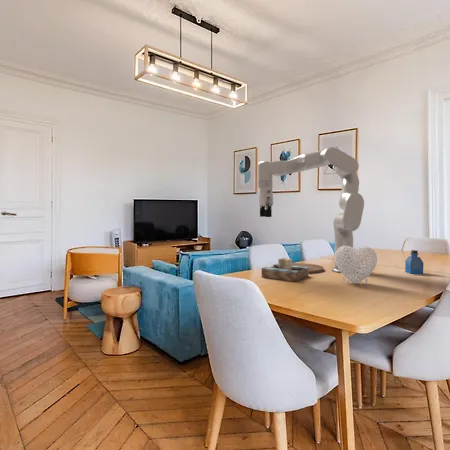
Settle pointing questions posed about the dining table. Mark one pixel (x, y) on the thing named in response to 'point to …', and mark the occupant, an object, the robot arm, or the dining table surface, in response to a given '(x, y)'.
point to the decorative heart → (355, 263)
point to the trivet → (310, 267)
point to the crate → (285, 273)
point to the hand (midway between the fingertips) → (265, 216)
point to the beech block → (285, 263)
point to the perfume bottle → (414, 263)
